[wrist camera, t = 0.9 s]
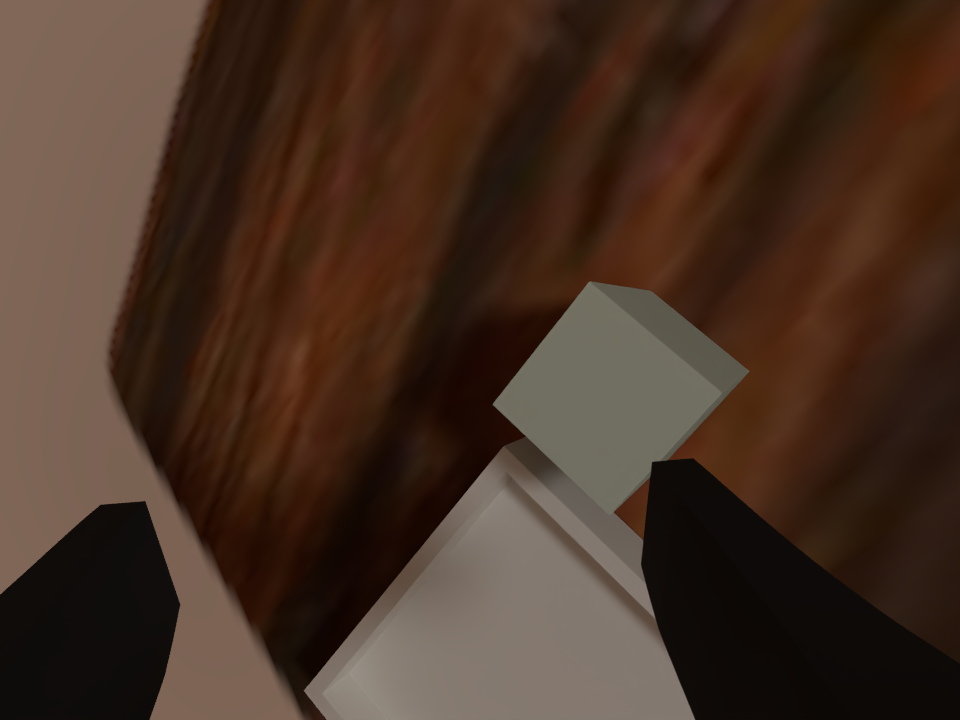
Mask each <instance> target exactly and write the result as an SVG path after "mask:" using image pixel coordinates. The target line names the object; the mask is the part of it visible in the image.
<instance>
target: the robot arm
mask: <svg viewBox="0 0 960 720" xmlns="http://www.w3.org/2000/svg"><path fill="white" fill-rule="evenodd" d="M641 567H642V571H643V575H644V579H645V583H646V586H647V590H648V594H649V598H650V601H651V605H652V608H653V612H654V615H655V619H656V622H657V626H658V629H659V632H660V634H661V637H662V640H663V642H664V645H665V647H666V650H667V652H668V655H669V657H670V659H671V662H672V664H673V667H674V669H675V672H676V674H677V677H678V679H679V682H680V684H681V687H682V689H683V691H684V694H685V696H686V699H687V701H688V704H689V706H690V708H691V711H692V713H693V716H694V718H695V720H960V664H959V663H958V662H956V661H955V660H953V659H952V658H950V657H948V656H947V655H945V654H944V653H942V652H941V651H939V650H938V649H936V648H935V647H933V646H932V645H930V644H928V643H927V642H925V641H924V640H922V639H921V638H919V637H918V636H916V635H915V634H913V633H912V632H910V631H908V630H907V629H905V628H904V627H903V626H901V625H900V624H898V623H897V622H895V621H894V620H892V619H891V618H890V617H888V616H887V615H885V614H884V613H882V612H881V611H879V610H878V609H877V608H875V607H874V606H873V605H871V604H870V603H869V602H867V601H866V600H865V599H863V598H862V597H860V596H859V595H858V594H856V593H855V592H854V591H852V590H851V589H850V588H848V587H847V586H846V585H844V584H843V583H842V582H840V581H839V580H838V579H836V578H835V577H834V576H832V575H831V574H830V573H828V572H827V571H826V570H825V569H823V568H822V567H821V566H819V565H818V564H817V563H816V562H814V561H813V560H812V559H811V558H809V557H808V556H807V555H806V554H804V553H803V552H802V551H801V550H799V549H798V548H797V547H796V546H794V545H793V544H792V543H791V542H790V541H788V540H787V539H786V538H785V537H784V536H782V535H781V534H780V533H779V532H778V531H776V530H775V529H774V528H773V527H772V526H770V525H769V524H768V523H767V522H766V521H765V520H763V519H762V518H761V517H760V516H759V515H758V514H756V513H755V512H754V511H753V510H752V509H751V508H749V507H748V506H747V505H746V504H745V503H744V502H743V501H741V500H740V499H739V498H738V497H737V496H736V495H735V494H733V493H732V492H731V491H730V490H729V489H728V488H727V487H725V486H724V485H723V484H722V483H721V482H720V481H719V480H718V479H716V478H715V477H714V476H713V475H712V474H711V473H710V472H708V471H707V470H706V469H705V468H704V467H703V466H701V465H700V464H699V463H698V462H697V461H696V460H694V459H680V460H667V461H654V462H652V466H651V475H650V484H649V494H648V503H647V512H646V521H645V531H644V540H643V549H642V558H641ZM179 608H180V603H179V600H178V597H177V594H176V591H175V588H174V585H173V582H172V579H171V576H170V573H169V570H168V567H167V564H166V561H165V559H164V555H163V552H162V549H161V546H160V544H159V541H158V538H157V535H156V532H155V529H154V526H153V523H152V520H151V517H150V514H149V511H148V508H147V505H146V502H145V501H143V502H131V503H118V504H105V505H100V506H99V507H98V508H96V509H95V510H94V511H93V512H92V513H90V514H89V515H88V516H87V517H86V518H84V520H82V521H81V522H80V523H79V524H78V525H77V526H76V527H74V528H73V529H72V530H71V531H70V532H69V533H68V534H67V535H65V536H64V537H63V538H62V539H61V540H60V541H59V542H58V543H57V544H56V545H55V546H54V547H52V548H51V549H50V550H49V551H48V552H47V553H46V554H45V555H44V556H43V557H41V558H40V559H39V560H38V561H37V562H36V563H35V564H34V565H33V566H32V567H30V568H29V569H28V570H27V571H26V572H25V573H24V574H23V575H22V576H20V577H19V578H18V579H17V580H16V581H15V582H14V583H13V584H12V585H10V586H9V587H8V588H7V589H6V590H5V591H4V592H3V593H2V594H0V720H149V719H150V716H151V713H152V711H153V708H154V705H155V702H156V699H157V696H158V694H159V691H160V688H161V685H162V682H163V679H164V676H165V672H166V668H167V663H168V659H169V655H170V651H171V646H172V642H173V637H174V632H175V628H176V622H177V617H178V612H179Z"/></svg>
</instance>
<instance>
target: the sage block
mask: <svg viewBox="0 0 960 720" xmlns="http://www.w3.org/2000/svg"><path fill="white" fill-rule="evenodd" d="M748 372H749V371H748V370H747V369H746V368H745V367H743V366H742V365H741V364H740V363H739V362H737V361H736V360H735V359H734V358H732V357H731V356H730V355H729V354H728V353H726V352H725V351H724V350H723V349H721V348H720V347H719V346H718V345H716V344H715V343H714V342H713V341H712V340H710V339H709V338H708V337H707V336H705V335H704V334H703V333H702V332H701V331H699V330H698V329H697V328H696V327H694V326H693V325H692V324H691V323H690V322H688V321H687V320H686V319H685V318H683V317H682V316H681V315H680V314H678V313H677V312H676V311H675V310H674V309H672V308H671V307H670V306H669V305H667V304H666V303H665V302H664V301H663V300H661V299H660V298H659V297H658V296H656V295H655V294H654V293H653V292H651V291H648V290H642V289H635V288H628V287H622V286H615V285H609V284H602V283H596V282H589V283H588V284H587V285H586V287H585V288H584V289H583V290H582V292H581V293H580V294H579V296H578V297H577V298H576V299H575V301H574V302H573V303H572V304H571V306H570V307H569V308H568V309H567V311H566V312H565V313H564V315H563V316H562V317H561V318H560V320H559V321H558V322H557V323H556V325H555V326H554V327H553V328H552V330H551V331H550V332H549V334H548V335H547V336H546V337H545V339H544V340H543V341H542V342H541V344H540V345H539V346H538V347H537V349H536V350H535V351H534V352H533V354H532V355H531V356H530V358H529V359H528V360H527V361H526V363H525V364H524V365H523V366H522V368H521V369H520V370H519V371H518V373H517V374H516V375H515V377H514V378H513V379H512V380H511V382H510V383H509V384H508V385H507V387H506V388H505V389H504V390H503V392H502V393H501V394H500V396H499V397H498V398H497V399H496V401H495V402H494V403H493V405H494V406H495V407H496V408H497V409H498V410H499V411H500V412H501V413H502V414H503V415H504V416H505V417H506V418H507V419H508V420H509V421H511V422H512V423H513V424H514V425H515V426H516V427H517V428H518V429H519V430H520V431H521V432H522V433H523V434H524V435H525V436H526V437H527V438H528V439H529V440H530V441H532V442H533V443H534V444H535V445H536V446H537V447H538V448H539V449H540V450H541V451H542V452H543V453H544V454H545V455H546V456H547V457H548V458H549V459H550V460H551V461H552V462H554V463H555V464H556V465H557V466H558V467H559V468H560V469H561V470H562V471H563V472H564V473H565V474H566V475H567V476H568V477H569V478H570V479H571V480H572V481H573V482H575V483H576V484H577V485H578V486H579V487H580V488H581V489H582V490H583V491H584V492H585V493H586V494H587V495H588V496H589V497H590V498H591V499H592V500H593V501H594V502H596V503H597V504H598V505H599V506H600V507H601V508H602V509H603V510H604V511H605V512H606V513H607V514H608V515H609V516H610V515H611V514H612V513H613V512H614V511H615V510H616V509H617V508H618V507H619V506H620V505H621V504H622V503H623V502H624V501H625V500H627V499H628V498H629V497H630V496H631V495H632V494H633V493H634V492H635V491H636V490H637V489H638V488H639V487H640V486H641V485H642V484H643V483H644V482H645V481H646V480H647V479H649V478H650V475H651V466H652V462H654V461H667V460H668V459H669V458H670V457H671V456H672V455H673V454H674V452H675V451H676V450H677V449H678V448H679V447H680V446H681V445H682V444H683V443H684V442H685V441H686V440H687V438H688V437H689V436H690V435H691V434H692V433H693V432H694V431H695V430H696V429H697V428H698V427H699V425H700V424H701V423H702V422H703V421H704V420H705V419H706V418H707V417H708V416H709V415H710V414H711V412H712V411H713V410H714V409H715V408H716V407H717V406H718V405H719V404H720V403H721V402H722V401H723V399H724V398H725V397H726V396H727V395H728V394H729V393H730V392H731V391H732V390H733V389H734V388H735V386H736V385H737V384H738V383H739V382H740V381H741V380H742V379H743V378H744V377H745V376H746V375H747V373H748Z"/></svg>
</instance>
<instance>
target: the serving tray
mask: <svg viewBox="0 0 960 720" xmlns="http://www.w3.org/2000/svg"><path fill="white" fill-rule="evenodd" d="M642 549H643V540H642V539H641V538H640V537H639V536H638V535H637V534H636V533H635V532H634V531H633V530H632V529H630V528H629V527H628V526H627V525H626V524H625V523H624V522H623V521H622V520H621V519H620V518H619V517H618V516H617V515H616V514H615V513H614V512H613V513H612V514H611V515H610V516H609V515H608V514H607V513H606V512H605V511H604V510H603V509H602V508H601V507H600V506H599V505H598V504H597V503H596V502H594V501H593V500H592V499H591V498H590V497H589V496H588V495H587V494H586V493H585V492H584V491H583V490H582V489H581V488H580V487H579V486H578V485H577V484H576V483H575V482H573V481H572V480H571V479H570V478H569V477H568V476H567V475H566V474H565V473H564V472H563V471H562V470H561V469H560V468H559V467H558V466H557V465H556V464H555V463H554V462H552V461H551V460H550V459H549V458H548V457H547V456H546V455H545V454H544V453H543V452H542V451H541V450H540V449H539V448H538V447H537V446H536V445H535V444H534V443H533V442H532V441H530V440H529V439H528V438H527V437H524V438H522V439H520V440H517V441H515V442H512V443H510V444H507V445H505V446H503V448H502V449H501V450H500V451H499V452H498V454H497V455H496V456H495V457H494V459H493V460H492V461H491V462H490V463H489V465H488V466H487V467H486V468H485V470H484V471H483V472H482V473H481V475H480V476H479V477H478V478H477V479H476V481H475V482H474V483H473V484H472V486H471V487H470V488H469V489H468V490H467V492H466V493H465V494H464V495H463V497H462V498H461V499H460V500H459V501H458V503H457V504H456V505H455V506H454V508H453V509H452V510H451V511H450V512H449V514H448V515H447V516H446V517H445V519H444V520H443V521H442V522H441V524H440V525H439V526H438V527H437V528H436V530H435V531H434V532H433V533H432V535H431V536H430V537H429V538H428V539H427V541H426V542H425V543H424V544H423V546H422V547H421V548H420V549H419V550H418V552H417V553H416V554H415V555H414V557H413V558H412V559H411V560H410V562H409V563H408V564H407V565H406V566H405V568H404V569H403V570H402V571H401V573H400V574H399V575H398V576H397V577H396V579H395V580H394V581H393V582H392V584H391V585H390V586H389V587H388V588H387V590H386V591H385V592H384V593H383V595H382V596H381V597H380V598H379V599H378V601H377V602H376V603H375V604H374V606H373V607H372V608H371V609H370V611H369V612H368V613H367V614H366V615H365V617H364V618H363V619H362V620H361V622H360V623H359V624H358V625H357V626H356V628H355V629H354V630H353V631H352V633H351V634H350V635H349V636H348V637H347V639H346V640H345V641H344V642H343V644H342V645H341V646H340V647H339V649H338V650H337V651H336V652H335V653H334V655H333V656H332V657H331V658H330V660H329V661H328V662H327V663H326V664H325V666H324V667H323V668H322V669H321V671H320V672H319V673H318V674H317V675H316V677H315V678H314V679H313V680H312V682H311V683H310V684H309V685H308V686H307V688H306V689H305V690H304V692H305V693H306V694H307V695H308V697H309V698H310V699H311V700H312V702H313V703H314V704H315V705H316V707H317V708H318V709H319V710H320V712H321V713H322V714H323V715H324V717H325V718H326V719H327V720H695V718H694V716H693V713H692V711H691V708H690V706H689V704H688V701H687V699H686V696H685V694H684V691H683V689H682V687H681V684H680V682H679V679H678V677H677V674H676V672H675V669H674V667H673V664H672V662H671V659H670V657H669V655H668V652H667V650H666V647H665V645H664V642H663V640H662V637H661V634H660V632H659V629H658V626H657V622H656V619H655V615H654V612H653V608H652V605H651V601H650V598H649V594H648V590H647V586H646V583H645V579H644V575H643V571H642V567H641V558H642Z"/></svg>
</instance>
